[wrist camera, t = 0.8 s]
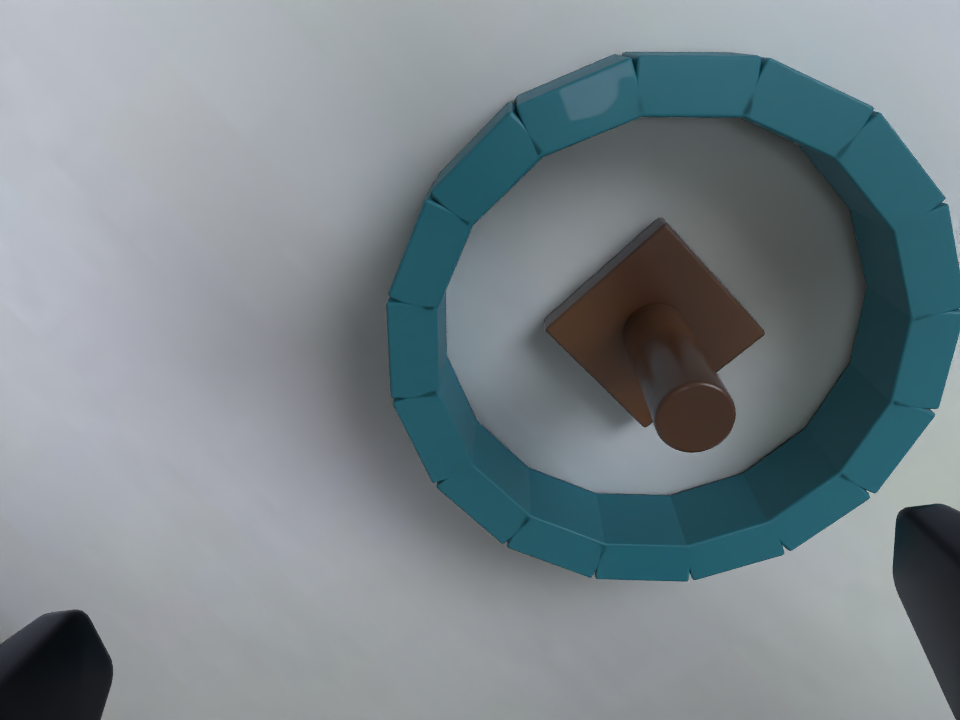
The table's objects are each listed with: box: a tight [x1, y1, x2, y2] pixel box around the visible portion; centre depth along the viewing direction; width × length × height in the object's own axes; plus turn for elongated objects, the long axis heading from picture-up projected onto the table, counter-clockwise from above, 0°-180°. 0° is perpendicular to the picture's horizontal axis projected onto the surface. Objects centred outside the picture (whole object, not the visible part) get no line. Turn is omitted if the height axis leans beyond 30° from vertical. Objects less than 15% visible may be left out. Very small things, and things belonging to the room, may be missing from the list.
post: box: [544, 218, 765, 452], centre depth 18 cm, size 4×4×6 cm
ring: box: [386, 52, 960, 581], centre depth 19 cm, size 13×13×2 cm
